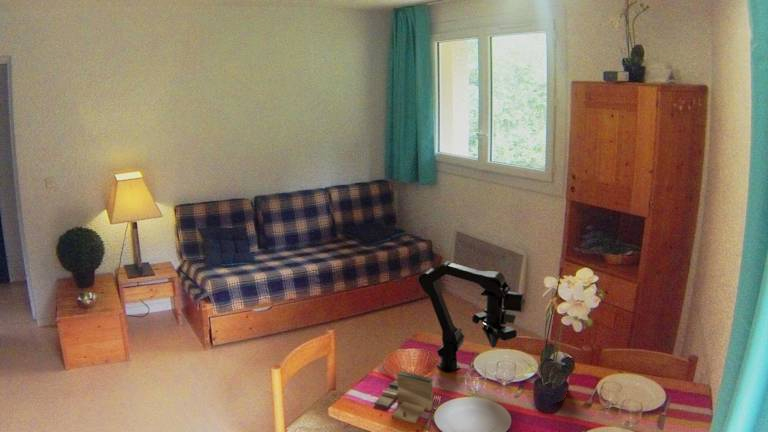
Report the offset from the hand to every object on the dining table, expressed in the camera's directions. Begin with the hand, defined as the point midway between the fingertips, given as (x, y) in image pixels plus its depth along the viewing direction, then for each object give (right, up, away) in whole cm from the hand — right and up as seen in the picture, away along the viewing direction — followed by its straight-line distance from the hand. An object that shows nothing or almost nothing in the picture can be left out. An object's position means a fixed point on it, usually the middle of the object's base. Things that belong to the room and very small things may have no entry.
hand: (493, 347), depth 221 cm
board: (-37, -15, -8) cm, 41 cm away
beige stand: (-31, -18, -17) cm, 40 cm away
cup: (+22, -14, -5) cm, 26 cm away
